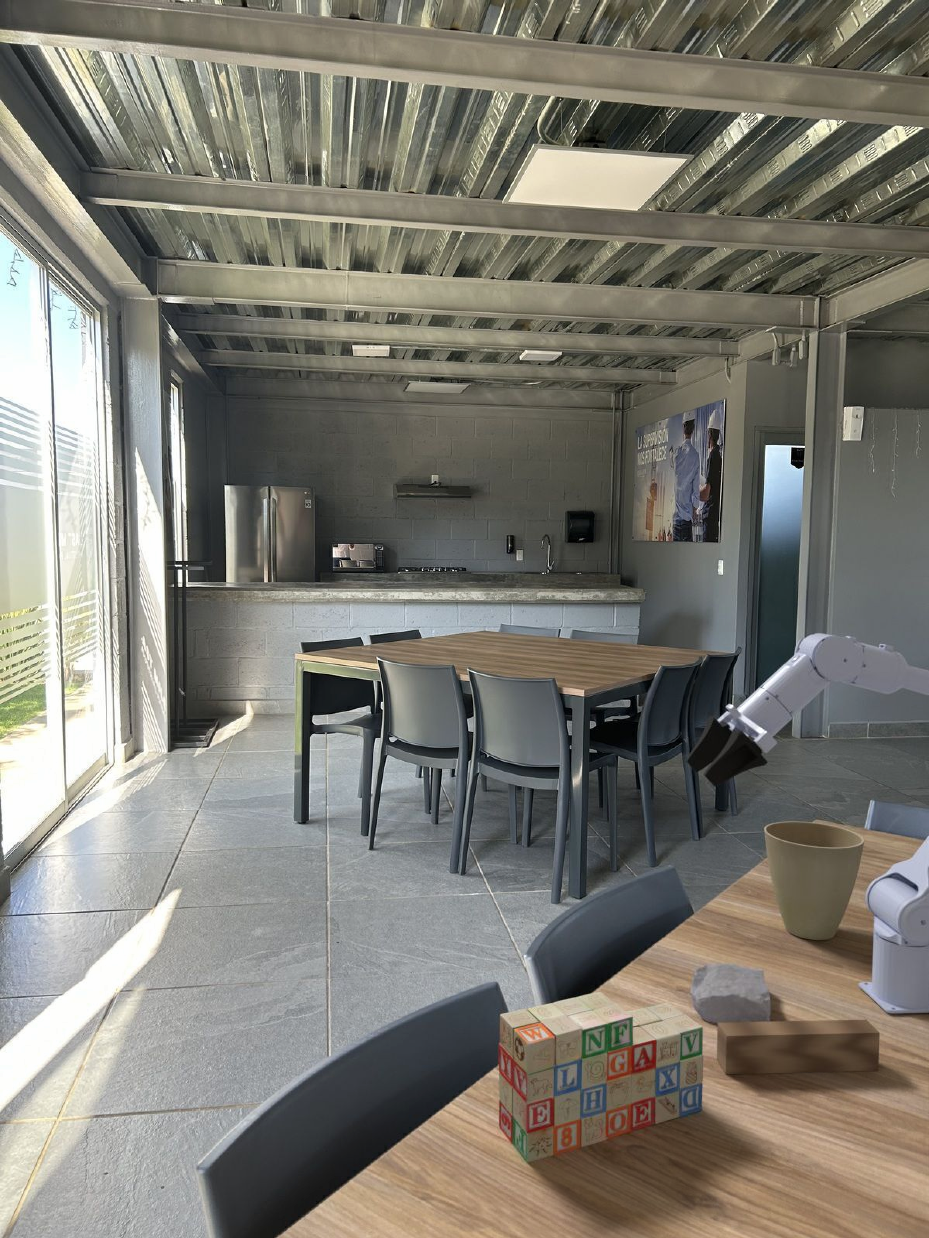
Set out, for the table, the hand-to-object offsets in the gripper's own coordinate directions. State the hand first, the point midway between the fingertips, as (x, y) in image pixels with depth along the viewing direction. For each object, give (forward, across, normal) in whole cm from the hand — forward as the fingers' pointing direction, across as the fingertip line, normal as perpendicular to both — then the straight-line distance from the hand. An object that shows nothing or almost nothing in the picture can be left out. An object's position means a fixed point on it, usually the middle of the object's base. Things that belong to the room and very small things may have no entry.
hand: (699, 773), depth 117 cm
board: (+16, +16, +27) cm, 35 cm away
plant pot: (+3, -22, +41) cm, 46 cm away
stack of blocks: (+34, +25, +10) cm, 44 cm away
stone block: (+19, +1, +26) cm, 32 cm away
